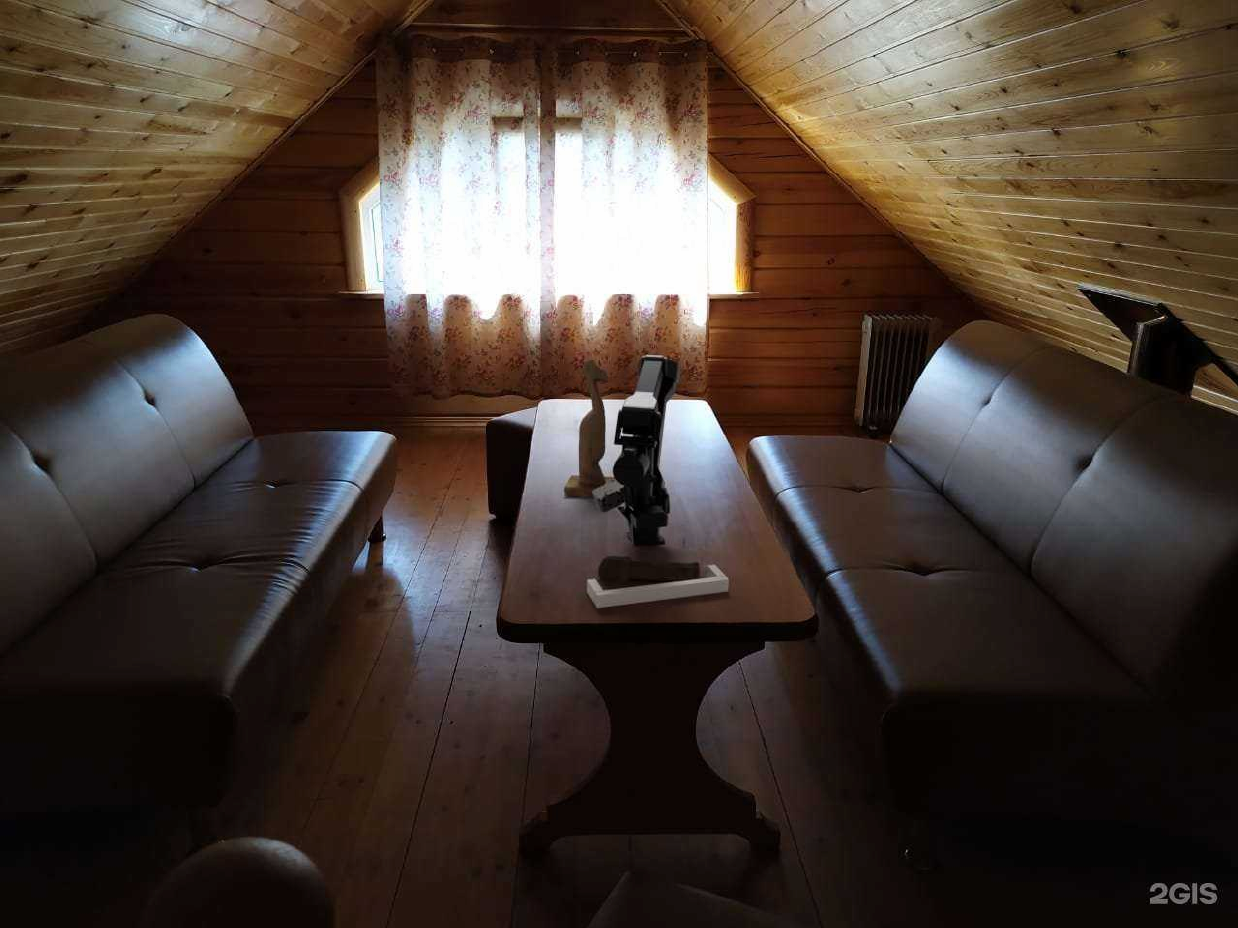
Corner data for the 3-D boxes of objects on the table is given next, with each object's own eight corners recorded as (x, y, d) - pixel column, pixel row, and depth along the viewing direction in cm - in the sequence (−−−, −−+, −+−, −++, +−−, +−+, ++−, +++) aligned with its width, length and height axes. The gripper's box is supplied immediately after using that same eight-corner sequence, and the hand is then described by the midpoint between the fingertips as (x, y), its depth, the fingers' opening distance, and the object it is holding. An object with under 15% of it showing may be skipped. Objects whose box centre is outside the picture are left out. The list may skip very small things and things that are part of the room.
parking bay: (587, 592, 160) (587, 579, 159) (713, 576, 167) (714, 564, 167) (597, 608, 154) (597, 595, 153) (728, 591, 162) (728, 578, 161)
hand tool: (699, 578, 167) (700, 555, 166) (699, 587, 163) (700, 564, 162) (600, 572, 169) (600, 550, 167) (597, 581, 165) (598, 558, 164)
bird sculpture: (613, 500, 207) (620, 366, 197) (563, 497, 207) (568, 363, 198) (615, 485, 218) (622, 357, 208) (568, 482, 218) (572, 354, 208)
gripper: (583, 457, 173) (583, 531, 178) (611, 489, 156) (610, 569, 161) (637, 453, 176) (635, 526, 181) (670, 483, 159) (667, 562, 164)
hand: (635, 545), depth 172 cm, fingers closed
